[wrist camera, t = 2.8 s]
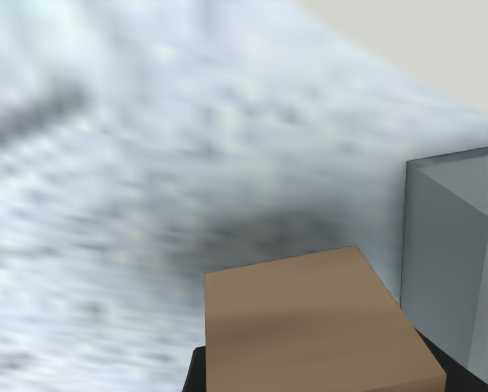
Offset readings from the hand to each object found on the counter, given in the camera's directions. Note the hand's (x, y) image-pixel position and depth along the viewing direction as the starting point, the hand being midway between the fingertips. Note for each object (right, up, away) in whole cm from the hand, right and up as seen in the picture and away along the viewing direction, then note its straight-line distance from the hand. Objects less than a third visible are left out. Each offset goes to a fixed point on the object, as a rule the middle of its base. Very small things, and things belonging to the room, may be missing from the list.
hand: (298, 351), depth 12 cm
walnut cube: (0, +1, +1) cm, 2 cm away
